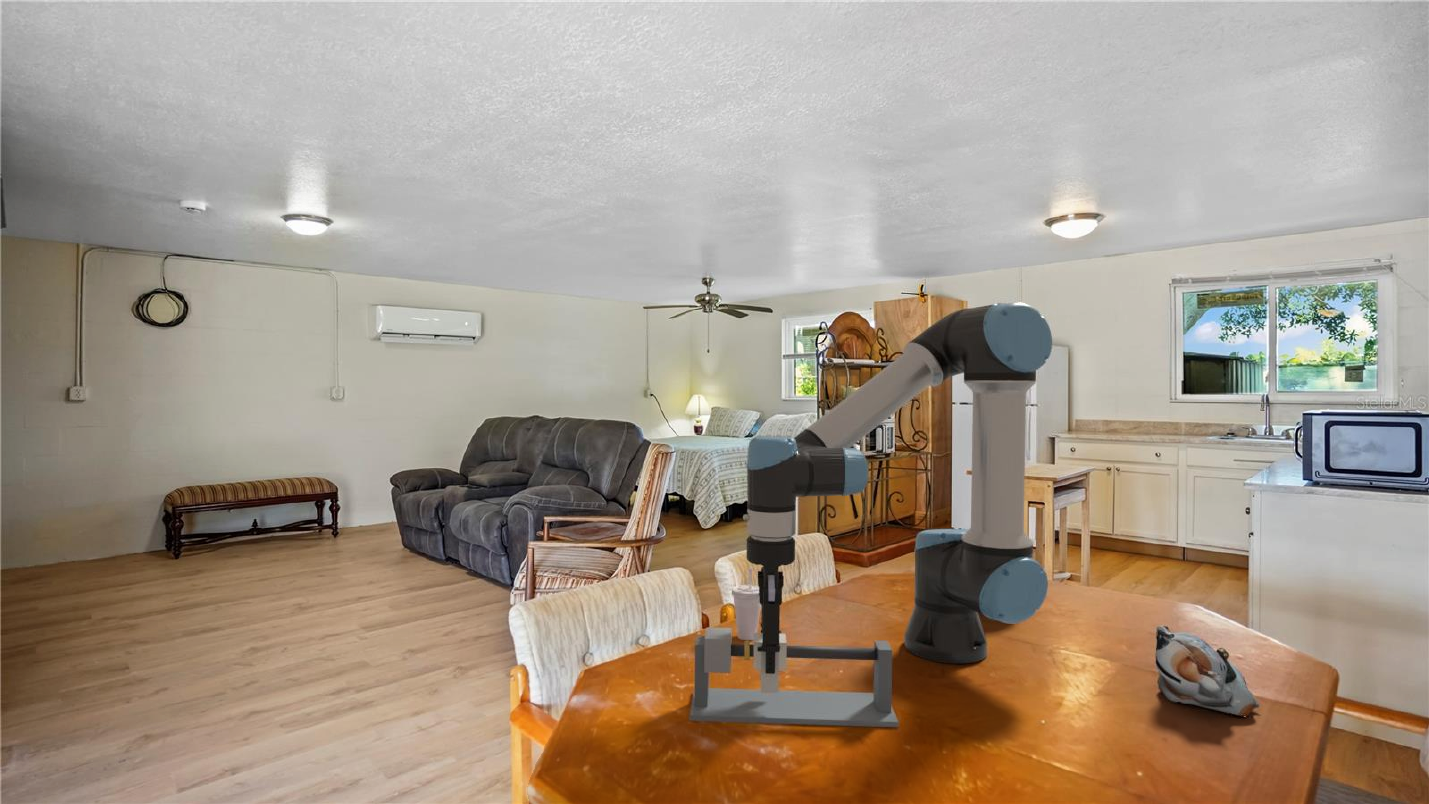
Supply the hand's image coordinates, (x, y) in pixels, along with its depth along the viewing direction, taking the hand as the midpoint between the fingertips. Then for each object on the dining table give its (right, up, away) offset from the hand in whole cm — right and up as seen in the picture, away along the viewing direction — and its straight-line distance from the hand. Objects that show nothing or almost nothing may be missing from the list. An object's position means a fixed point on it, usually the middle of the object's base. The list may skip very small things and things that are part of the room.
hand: (769, 685), depth 114 cm
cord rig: (+3, -4, 0) cm, 5 cm away
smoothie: (-2, -3, +32) cm, 32 cm away
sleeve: (0, +3, 0) cm, 3 cm away
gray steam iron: (+70, -5, +3) cm, 70 cm away
